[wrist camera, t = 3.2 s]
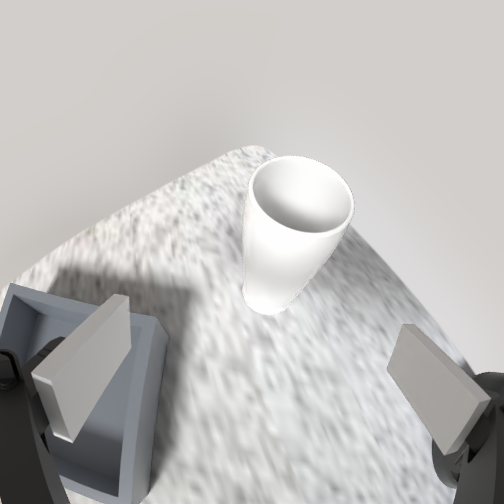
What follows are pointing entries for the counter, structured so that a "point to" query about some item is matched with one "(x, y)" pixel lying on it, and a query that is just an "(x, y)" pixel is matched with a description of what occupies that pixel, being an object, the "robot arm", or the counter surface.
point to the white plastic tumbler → (290, 228)
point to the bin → (109, 404)
